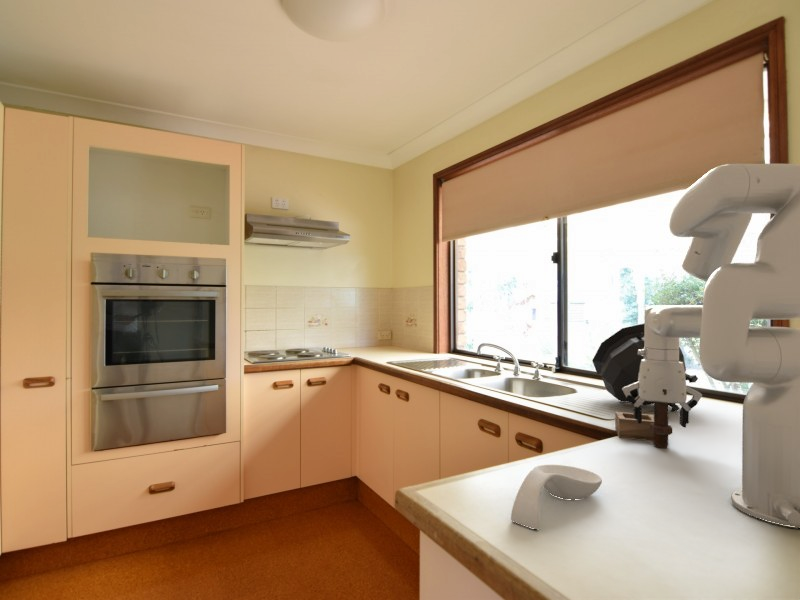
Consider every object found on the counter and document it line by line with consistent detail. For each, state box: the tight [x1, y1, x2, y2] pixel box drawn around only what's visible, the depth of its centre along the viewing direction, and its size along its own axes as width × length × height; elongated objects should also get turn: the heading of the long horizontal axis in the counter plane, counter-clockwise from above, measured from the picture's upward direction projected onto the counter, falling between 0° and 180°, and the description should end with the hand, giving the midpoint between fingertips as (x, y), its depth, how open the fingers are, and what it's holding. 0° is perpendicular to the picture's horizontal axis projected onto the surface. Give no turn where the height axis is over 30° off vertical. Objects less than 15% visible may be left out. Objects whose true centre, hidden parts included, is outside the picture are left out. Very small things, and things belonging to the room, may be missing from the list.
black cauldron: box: [592, 322, 699, 412], centre depth 153 cm, size 28×28×24 cm
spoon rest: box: [510, 464, 603, 530], centre depth 79 cm, size 24×12×7 cm, turn 139°
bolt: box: [650, 389, 673, 449], centre depth 111 cm, size 6×5×15 cm
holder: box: [614, 411, 654, 442], centre depth 121 cm, size 8×10×5 cm
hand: (660, 424), depth 112 cm, fingers open, 9 cm apart
